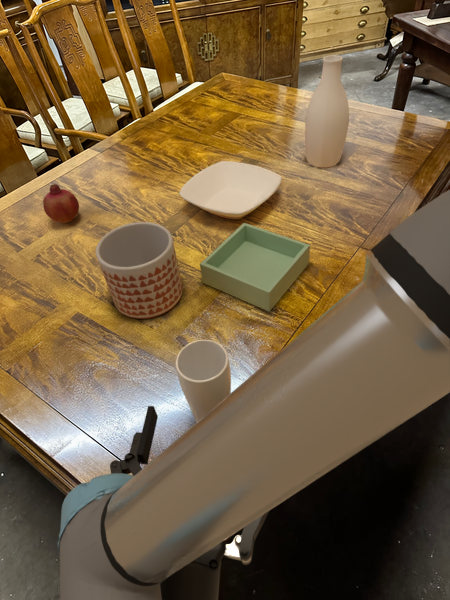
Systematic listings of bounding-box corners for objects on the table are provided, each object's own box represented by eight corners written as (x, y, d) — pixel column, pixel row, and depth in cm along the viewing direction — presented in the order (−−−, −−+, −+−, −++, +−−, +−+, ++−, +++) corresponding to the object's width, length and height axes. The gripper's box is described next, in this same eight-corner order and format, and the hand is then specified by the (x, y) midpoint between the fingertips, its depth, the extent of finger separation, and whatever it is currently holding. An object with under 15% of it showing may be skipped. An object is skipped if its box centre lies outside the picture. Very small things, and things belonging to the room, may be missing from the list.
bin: (308, 264, 86) (310, 244, 82) (269, 311, 77) (269, 292, 73) (245, 241, 93) (244, 222, 89) (202, 282, 84) (199, 263, 81)
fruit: (54, 213, 107) (39, 178, 100) (85, 210, 107) (72, 174, 100) (47, 232, 101) (31, 196, 94) (81, 228, 101) (66, 192, 94)
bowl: (222, 174, 114) (220, 156, 111) (292, 193, 105) (292, 174, 101) (171, 213, 103) (167, 194, 99) (244, 239, 93) (243, 220, 89)
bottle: (294, 160, 117) (298, 59, 99) (322, 147, 121) (331, 48, 103) (323, 174, 110) (334, 69, 92) (352, 160, 114) (367, 56, 96)
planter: (190, 309, 79) (179, 257, 70) (118, 328, 77) (98, 277, 68) (175, 265, 89) (164, 214, 80) (111, 281, 87) (92, 230, 78)
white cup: (245, 423, 62) (239, 363, 51) (206, 450, 59) (192, 392, 49) (219, 392, 66) (209, 330, 55) (182, 415, 63) (165, 355, 53)
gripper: (65, 610, 44) (119, 423, 58) (308, 633, 41) (299, 431, 56) (37, 595, 38) (103, 394, 53) (313, 621, 35) (302, 401, 50)
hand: (204, 412), depth 54 cm, fingers open, 13 cm apart
